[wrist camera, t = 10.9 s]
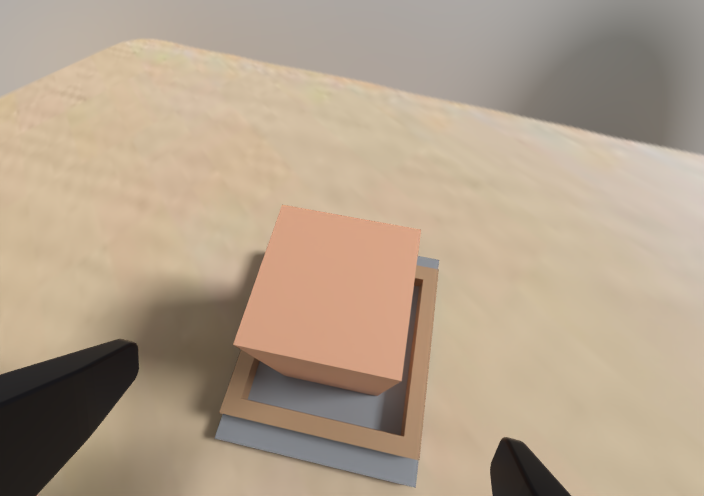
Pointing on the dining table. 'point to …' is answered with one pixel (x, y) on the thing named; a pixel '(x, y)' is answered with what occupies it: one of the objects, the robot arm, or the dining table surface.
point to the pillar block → (333, 300)
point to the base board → (339, 407)
